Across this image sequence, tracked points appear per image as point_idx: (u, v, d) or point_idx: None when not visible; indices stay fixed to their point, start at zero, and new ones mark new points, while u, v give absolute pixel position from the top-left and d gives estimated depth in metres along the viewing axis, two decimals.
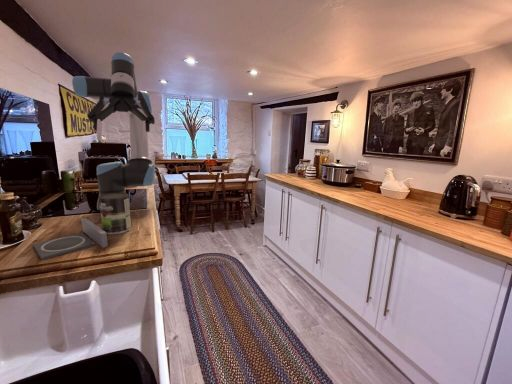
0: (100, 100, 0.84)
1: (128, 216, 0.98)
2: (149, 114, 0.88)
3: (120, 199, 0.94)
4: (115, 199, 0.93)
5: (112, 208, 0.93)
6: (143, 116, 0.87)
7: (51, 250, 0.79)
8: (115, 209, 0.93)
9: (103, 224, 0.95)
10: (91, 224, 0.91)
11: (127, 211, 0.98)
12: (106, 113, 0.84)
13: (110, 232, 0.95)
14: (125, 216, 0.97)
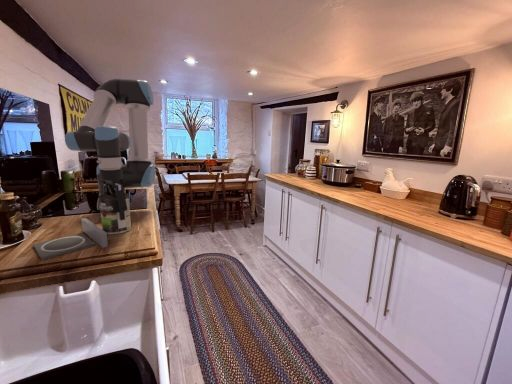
0: (103, 185, 0.99)
1: (128, 216, 0.98)
2: (118, 205, 0.91)
3: None
4: (115, 199, 0.93)
5: (112, 208, 0.93)
6: (117, 206, 0.93)
7: (51, 250, 0.79)
8: (115, 209, 0.93)
9: (103, 224, 0.95)
10: (91, 224, 0.91)
11: (127, 211, 0.98)
12: None
13: (110, 232, 0.95)
14: (125, 216, 0.97)
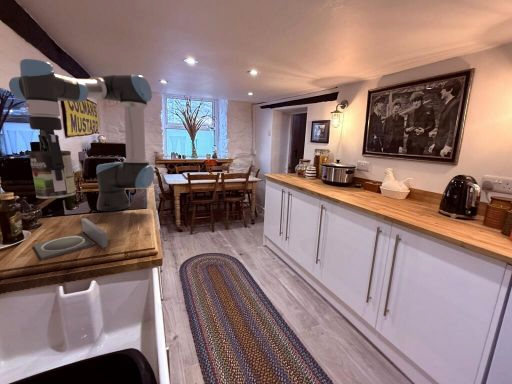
0: (39, 140, 0.80)
1: (69, 178, 0.80)
2: (52, 160, 0.73)
3: None
4: (49, 153, 0.74)
5: (45, 165, 0.74)
6: (51, 163, 0.74)
7: (51, 250, 0.79)
8: (50, 167, 0.75)
9: (35, 186, 0.76)
10: (91, 224, 0.91)
11: (68, 171, 0.79)
12: None
13: (44, 196, 0.76)
14: (64, 177, 0.78)
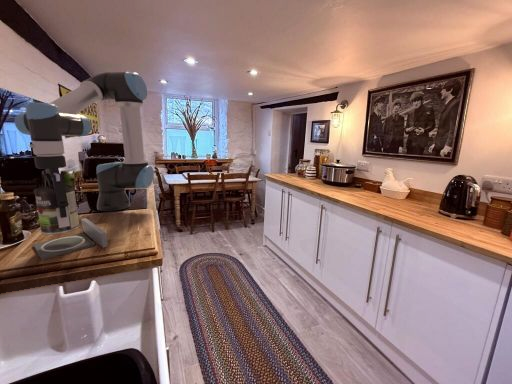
0: None
1: (73, 213, 0.82)
2: (56, 199, 0.75)
3: None
4: (53, 192, 0.76)
5: (50, 203, 0.76)
6: (55, 201, 0.76)
7: (51, 250, 0.79)
8: (54, 204, 0.77)
9: (40, 222, 0.78)
10: (91, 224, 0.91)
11: (71, 207, 0.81)
12: None
13: (49, 232, 0.78)
14: (68, 213, 0.80)
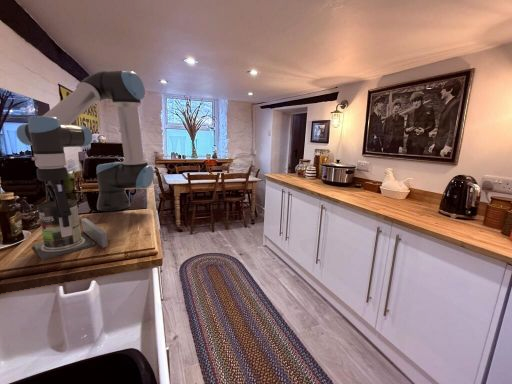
0: None
1: (76, 227, 0.83)
2: (59, 209, 0.75)
3: None
4: (56, 208, 0.77)
5: (53, 218, 0.78)
6: (58, 210, 0.76)
7: (51, 250, 0.79)
8: (57, 220, 0.78)
9: (44, 237, 0.79)
10: (91, 224, 0.91)
11: (74, 221, 0.82)
12: (52, 200, 0.84)
13: (52, 247, 0.79)
14: None
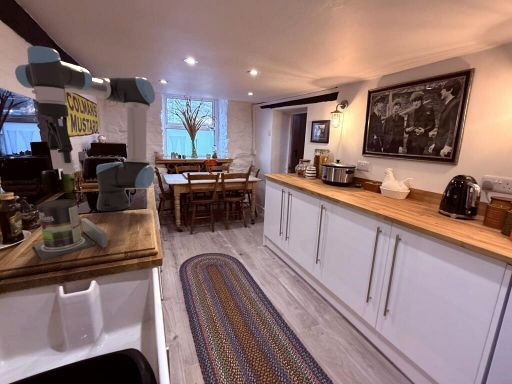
0: (46, 125, 0.82)
1: (76, 227, 0.83)
2: (60, 143, 0.74)
3: (63, 208, 0.79)
4: (56, 208, 0.77)
5: (53, 218, 0.78)
6: (59, 145, 0.75)
7: (51, 250, 0.79)
8: (57, 220, 0.78)
9: (43, 237, 0.79)
10: (91, 224, 0.91)
11: (74, 221, 0.82)
12: (53, 140, 0.83)
13: (52, 247, 0.79)
14: (71, 228, 0.81)
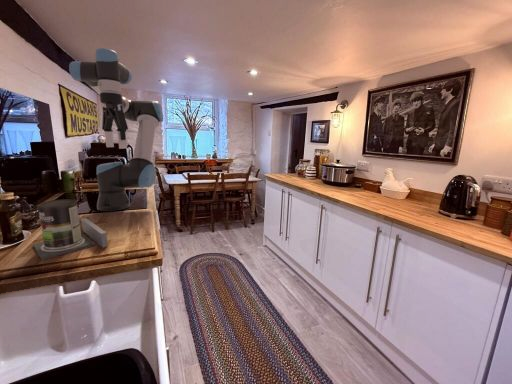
0: (103, 111, 1.03)
1: (76, 227, 0.83)
2: (119, 123, 0.94)
3: (63, 208, 0.79)
4: (56, 208, 0.77)
5: (53, 218, 0.78)
6: (117, 126, 0.96)
7: (51, 250, 0.79)
8: (57, 220, 0.78)
9: (44, 237, 0.79)
10: (91, 224, 0.91)
11: (74, 222, 0.82)
12: (108, 123, 1.04)
13: (52, 247, 0.79)
14: (71, 228, 0.81)
